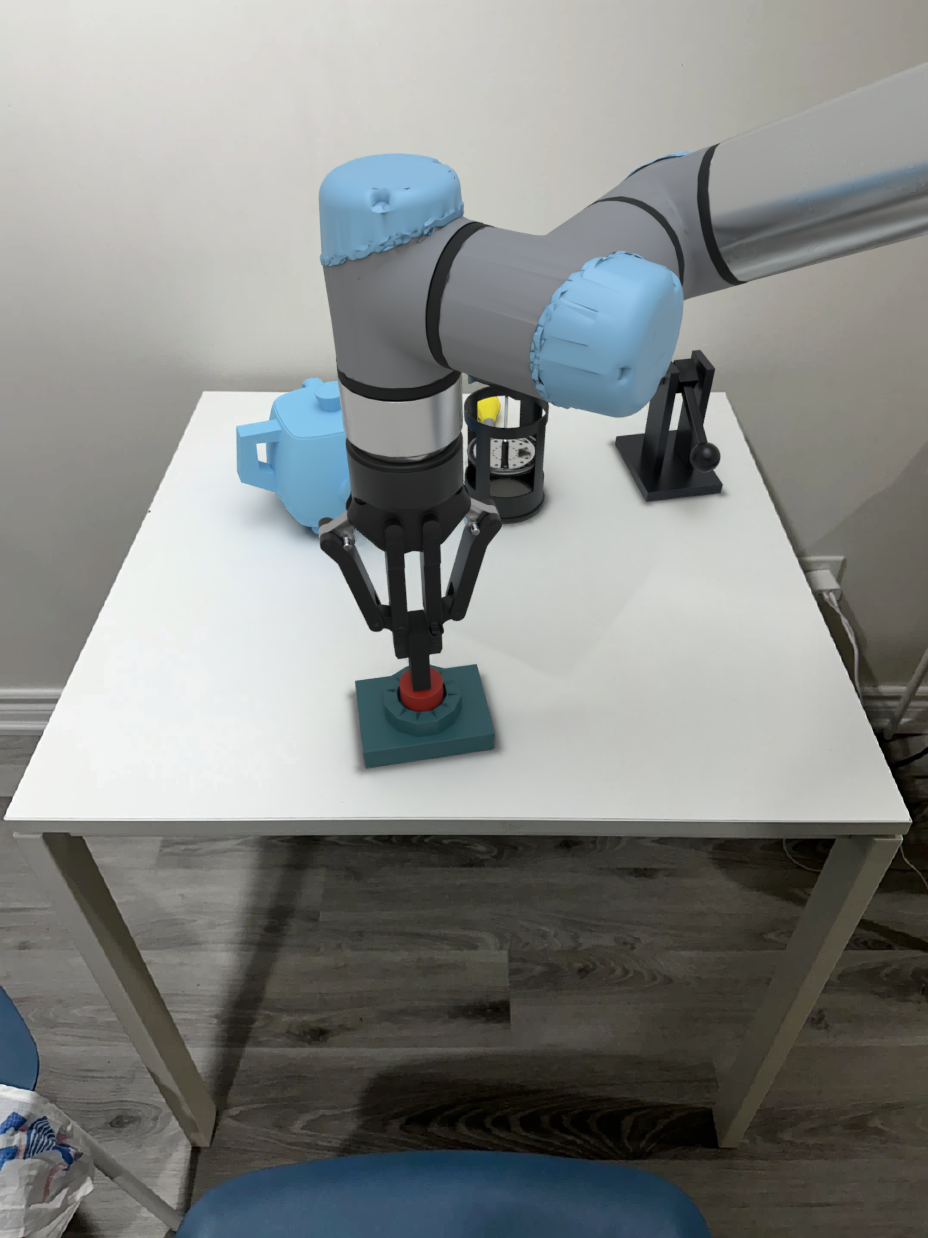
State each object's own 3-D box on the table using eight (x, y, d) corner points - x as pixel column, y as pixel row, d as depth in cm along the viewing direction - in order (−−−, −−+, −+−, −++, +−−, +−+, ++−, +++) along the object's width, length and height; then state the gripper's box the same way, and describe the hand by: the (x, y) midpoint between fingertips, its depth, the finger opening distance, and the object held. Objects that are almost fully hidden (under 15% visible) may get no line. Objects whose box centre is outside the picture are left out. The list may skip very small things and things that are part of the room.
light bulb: (493, 407, 112) (502, 388, 109) (497, 442, 109) (507, 423, 106) (468, 402, 111) (478, 383, 108) (472, 438, 108) (481, 419, 105)
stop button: (446, 708, 71) (445, 695, 70) (403, 714, 70) (402, 701, 69) (439, 676, 73) (439, 663, 72) (398, 682, 73) (397, 668, 72)
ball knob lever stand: (721, 492, 98) (748, 384, 88) (646, 501, 97) (665, 393, 87) (684, 436, 106) (704, 332, 97) (614, 444, 105) (628, 339, 96)
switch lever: (717, 476, 92) (728, 462, 89) (689, 479, 91) (699, 465, 88) (689, 372, 95) (699, 355, 92) (662, 374, 95) (670, 358, 92)
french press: (513, 537, 93) (521, 337, 76) (443, 508, 96) (436, 312, 80) (567, 484, 99) (584, 291, 83) (499, 459, 103) (504, 270, 87)
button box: (494, 749, 72) (495, 719, 70) (365, 768, 71) (360, 739, 68) (476, 679, 78) (477, 649, 75) (357, 696, 77) (352, 666, 74)
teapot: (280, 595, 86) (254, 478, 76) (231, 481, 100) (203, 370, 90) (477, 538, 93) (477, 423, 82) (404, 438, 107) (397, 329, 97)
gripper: (492, 391, 57) (488, 635, 74) (298, 410, 56) (337, 655, 72) (517, 453, 52) (506, 701, 69) (302, 476, 50) (344, 724, 67)
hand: (419, 677), depth 70 cm, fingers closed
